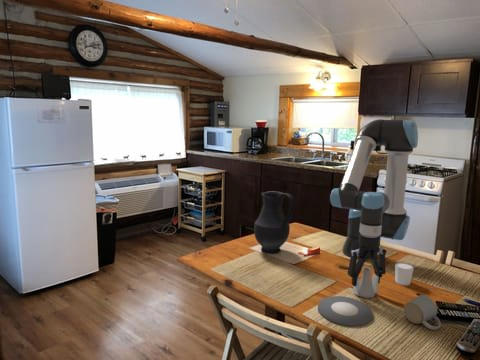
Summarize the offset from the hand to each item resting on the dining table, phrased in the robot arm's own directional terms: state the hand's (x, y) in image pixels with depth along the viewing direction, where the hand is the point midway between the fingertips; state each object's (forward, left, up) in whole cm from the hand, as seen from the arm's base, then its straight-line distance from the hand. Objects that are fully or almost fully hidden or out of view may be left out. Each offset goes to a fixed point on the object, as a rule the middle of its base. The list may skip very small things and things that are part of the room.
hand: (364, 292), depth 142 cm
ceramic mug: (-8, +21, -1) cm, 23 cm away
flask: (0, 0, -1) cm, 1 cm away
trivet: (+14, +10, -1) cm, 17 cm away
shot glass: (-21, -6, -1) cm, 22 cm away
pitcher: (+20, -48, -1) cm, 52 cm away
